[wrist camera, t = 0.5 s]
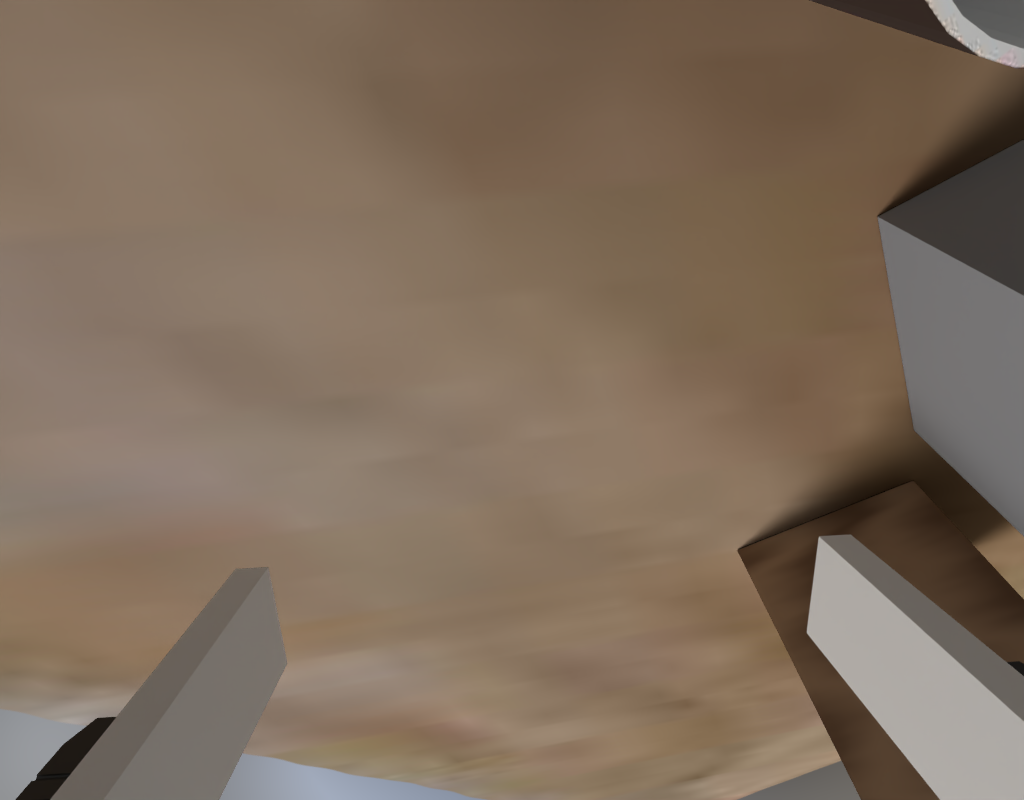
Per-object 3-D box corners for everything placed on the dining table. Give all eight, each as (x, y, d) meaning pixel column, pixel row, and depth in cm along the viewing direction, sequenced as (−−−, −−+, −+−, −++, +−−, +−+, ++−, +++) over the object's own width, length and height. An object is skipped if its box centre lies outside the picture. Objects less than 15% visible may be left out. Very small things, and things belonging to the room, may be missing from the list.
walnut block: (778, 621, 41) (978, 1016, 25) (737, 550, 35) (965, 1010, 19) (929, 568, 38) (1261, 976, 22) (913, 480, 32) (1352, 954, 16)
